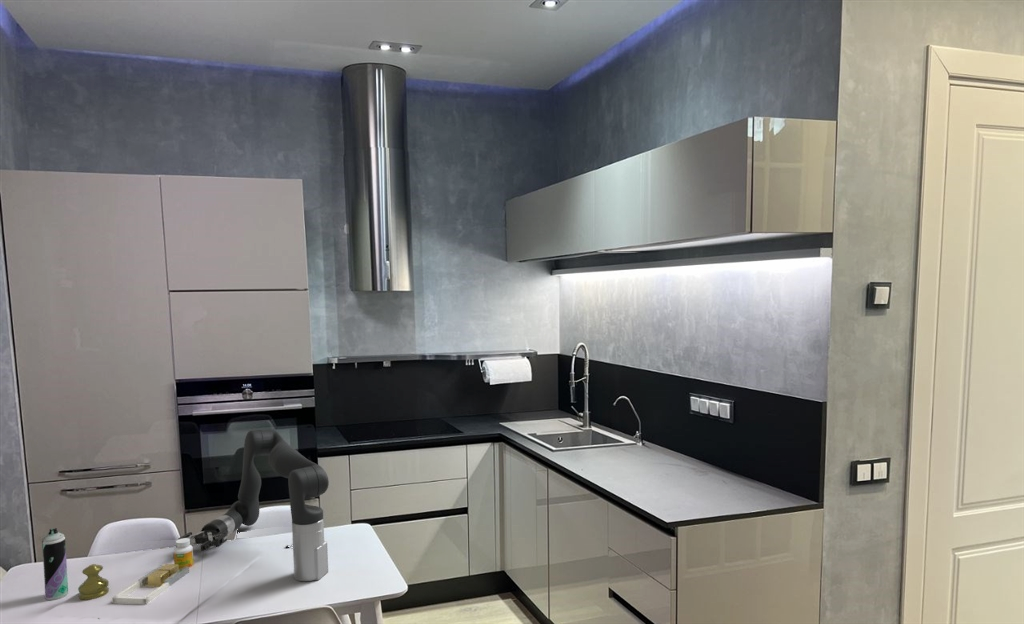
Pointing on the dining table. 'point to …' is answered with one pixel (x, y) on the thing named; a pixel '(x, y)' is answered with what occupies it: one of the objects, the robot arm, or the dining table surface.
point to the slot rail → (170, 580)
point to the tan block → (158, 577)
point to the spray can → (55, 565)
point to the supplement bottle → (183, 553)
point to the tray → (123, 599)
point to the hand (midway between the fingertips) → (189, 548)
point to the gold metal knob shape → (93, 584)
